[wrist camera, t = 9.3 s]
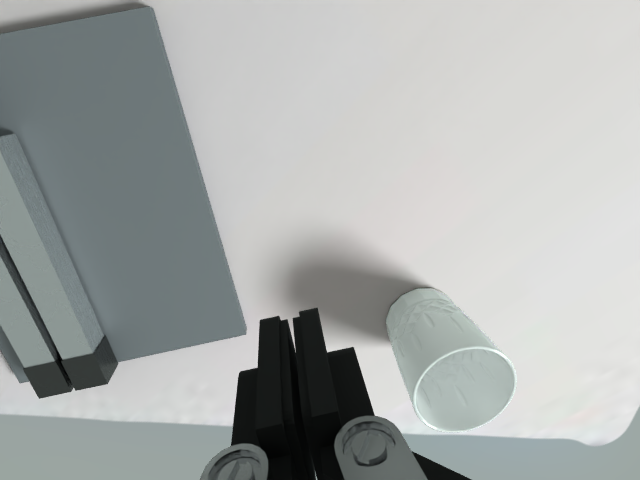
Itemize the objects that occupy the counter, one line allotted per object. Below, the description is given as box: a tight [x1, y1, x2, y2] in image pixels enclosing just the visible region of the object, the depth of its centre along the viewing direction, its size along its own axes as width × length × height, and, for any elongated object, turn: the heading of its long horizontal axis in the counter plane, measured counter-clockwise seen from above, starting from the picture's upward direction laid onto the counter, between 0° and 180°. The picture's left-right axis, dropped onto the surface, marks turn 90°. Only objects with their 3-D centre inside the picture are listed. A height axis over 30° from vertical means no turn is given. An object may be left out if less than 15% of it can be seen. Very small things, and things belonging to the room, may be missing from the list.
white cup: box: [386, 288, 517, 433], centre depth 35 cm, size 8×8×10 cm
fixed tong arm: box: [0, 235, 74, 399], centre depth 31 cm, size 20×3×3 cm, turn 10°
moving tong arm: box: [0, 134, 118, 390], centre depth 30 cm, size 25×5×3 cm, turn 10°
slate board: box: [0, 6, 247, 383], centre depth 32 cm, size 26×20×1 cm
